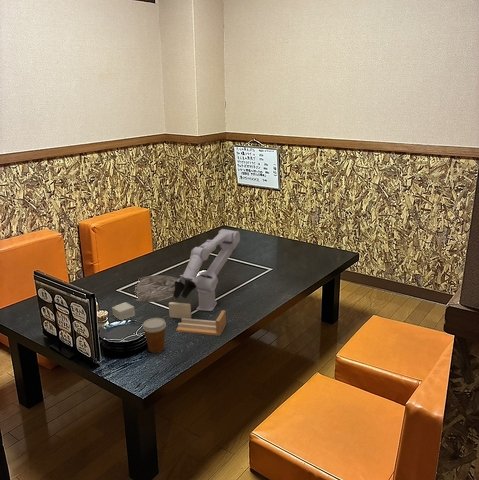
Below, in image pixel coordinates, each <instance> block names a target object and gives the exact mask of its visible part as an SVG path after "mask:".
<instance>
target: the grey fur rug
mask: <svg viewBox="0 0 479 480" xmlns="http://www.w3.org/2000/svg"><path fill="white" fill-rule="evenodd" d="M138 278H139V279H140V280H139V279H138V280H139V281H140V282H137V283H138V284H137V283H136V284H137V285H135V286H137V287H135V291H134V292H136V293H137V294H136V293H135V294H136V295H137V296H136V295H135V296H136V297H138V299H136V301H135V302H137V301H139V302H138V303H153V302H154V303H155V302H160V301H164V300H166V299H170V298H172V297H174V296H173V295H174V290H175V281H178V279H179V277H178V278H177V277H174V276H172V275H171V276H170V275H164V274H162V275H160V274H158V275H157V274H155V275H147V276H141V278H140V277H138ZM184 285H185V283H184ZM136 289H137V290H136Z"/></svg>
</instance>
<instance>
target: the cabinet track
mask: <svg viewBox="0 0 479 480" xmlns="http://www.w3.org/2000/svg"><path fill="white" fill-rule="evenodd" d="M226 314H227V313H226V310H221V311H220V313H219V315H218V317H217V318H216V319H215V320H210V319H209V320H206V319H196V318H190V319H187V318H180V319H181V322H178V323H177V327H176V329H175V330H176V332H179V333H180V332H181V333H187V334H198V335H209V336H221V334H222V332H223V331H224V329H225V327H226V325H227V315H226Z"/></svg>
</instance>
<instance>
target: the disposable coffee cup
mask: <svg viewBox="0 0 479 480" xmlns="http://www.w3.org/2000/svg"><path fill="white" fill-rule="evenodd" d="M142 326H143V329H144V332H145V336H146V339H145V340H146V342H147V347H148V351H149V352H151V353H160V352H162V351H163V350H165V341H166V340H165V339H166V337H165V336H166V327H167V323H166V320H165V319H164V318H162V317H161V318H160V317H152V318H149V319H146V320H145V321H144V322H143V324H142Z"/></svg>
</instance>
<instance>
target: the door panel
mask: <svg viewBox="0 0 479 480" xmlns="http://www.w3.org/2000/svg"><path fill="white" fill-rule="evenodd" d="M191 308H192V307H191V303H187V302H185V303H184V302H173V301H170V302H169V303H168V312H169V313H168V315H169V318H174V319H175V318H176V319H182V318H187V319H192V309H191Z"/></svg>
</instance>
